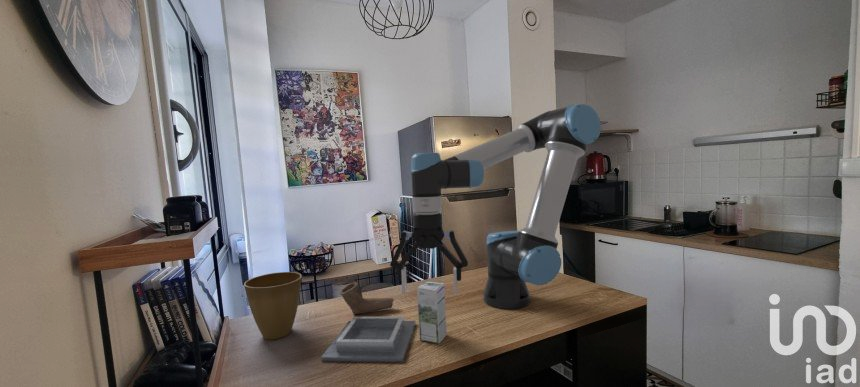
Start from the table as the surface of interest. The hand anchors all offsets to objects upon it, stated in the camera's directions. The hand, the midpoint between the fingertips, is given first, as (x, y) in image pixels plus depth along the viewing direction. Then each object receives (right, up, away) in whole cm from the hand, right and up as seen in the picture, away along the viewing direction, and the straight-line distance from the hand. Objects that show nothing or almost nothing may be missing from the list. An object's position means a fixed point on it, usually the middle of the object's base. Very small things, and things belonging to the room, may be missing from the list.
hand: (429, 292), depth 92 cm
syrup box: (+1, -13, +1) cm, 13 cm away
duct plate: (-15, -13, +1) cm, 20 cm away
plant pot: (-44, -14, +8) cm, 46 cm away
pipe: (-20, -12, +20) cm, 30 cm away
